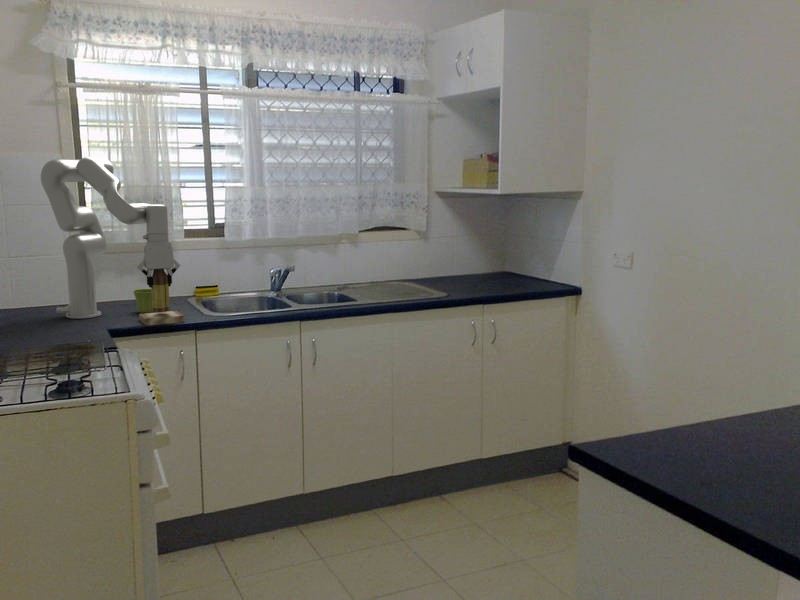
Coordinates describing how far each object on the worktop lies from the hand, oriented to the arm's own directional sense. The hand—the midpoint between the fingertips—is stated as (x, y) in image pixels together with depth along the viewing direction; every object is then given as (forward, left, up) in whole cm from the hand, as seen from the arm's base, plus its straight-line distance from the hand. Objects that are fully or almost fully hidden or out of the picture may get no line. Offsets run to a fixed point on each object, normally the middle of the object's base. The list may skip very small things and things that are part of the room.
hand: (159, 286), depth 277 cm
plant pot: (-1, +22, -14) cm, 26 cm away
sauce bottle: (0, 0, -10) cm, 10 cm away
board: (0, 0, -13) cm, 13 cm away
